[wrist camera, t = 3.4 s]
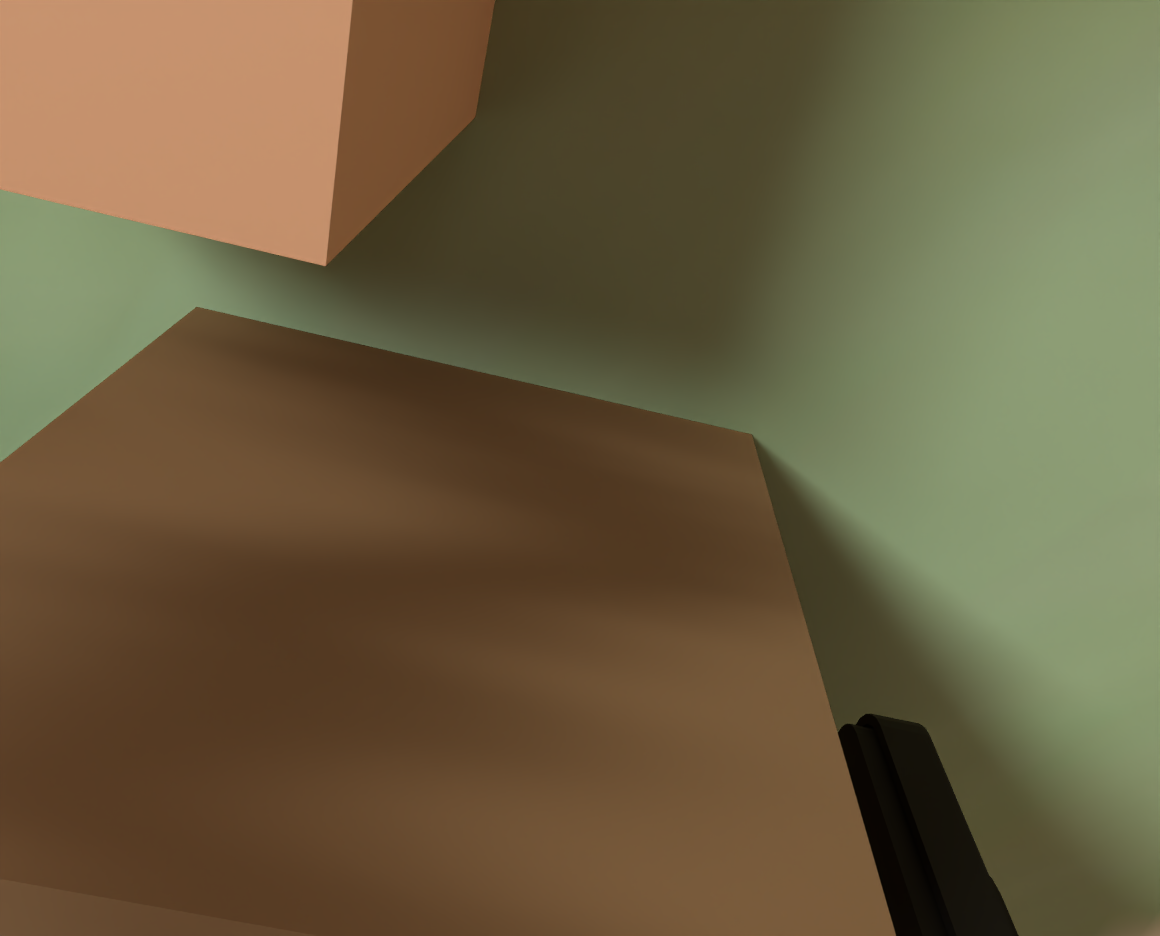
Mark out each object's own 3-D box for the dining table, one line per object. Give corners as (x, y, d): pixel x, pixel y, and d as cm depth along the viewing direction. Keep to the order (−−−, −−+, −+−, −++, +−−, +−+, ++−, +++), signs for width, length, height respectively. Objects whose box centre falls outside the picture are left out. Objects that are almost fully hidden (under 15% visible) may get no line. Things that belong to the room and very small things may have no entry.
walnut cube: (751, 432, 10) (928, 1045, 4) (615, 804, 13) (614, 1473, 7) (199, 305, 10) (-431, 803, 4) (185, 721, 12) (-188, 1363, 7)
